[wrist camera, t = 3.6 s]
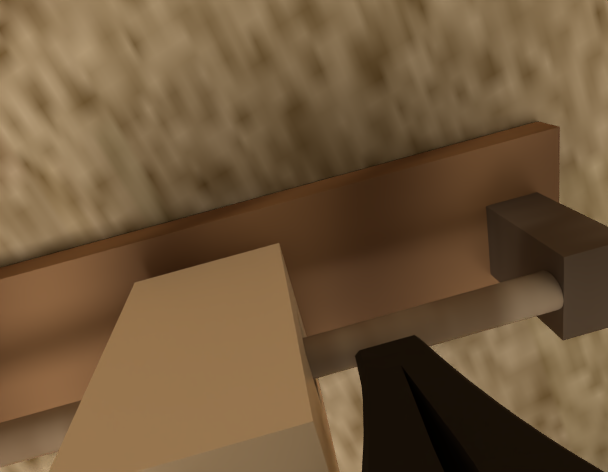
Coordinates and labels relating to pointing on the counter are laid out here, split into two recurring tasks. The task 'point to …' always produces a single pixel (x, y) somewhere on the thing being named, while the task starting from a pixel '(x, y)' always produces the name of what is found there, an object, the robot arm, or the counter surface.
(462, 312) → the rod base
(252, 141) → the counter surface
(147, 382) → the tan wooden block
